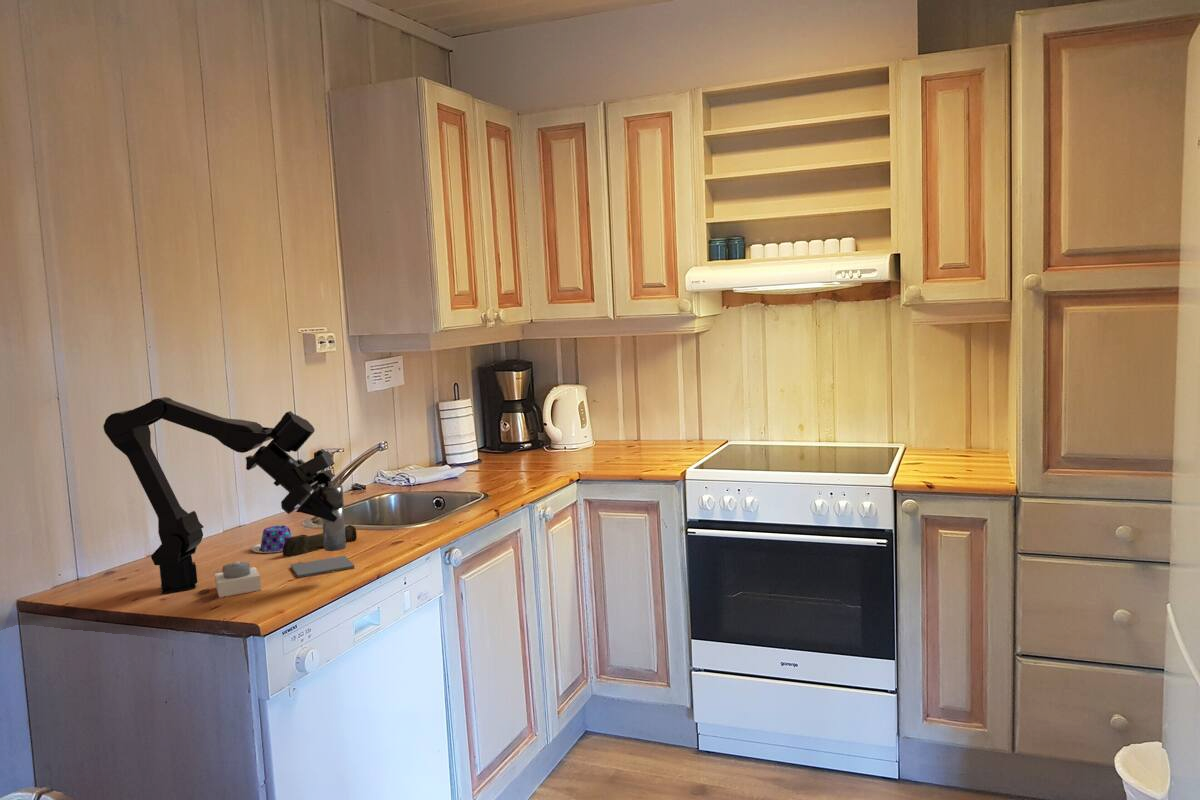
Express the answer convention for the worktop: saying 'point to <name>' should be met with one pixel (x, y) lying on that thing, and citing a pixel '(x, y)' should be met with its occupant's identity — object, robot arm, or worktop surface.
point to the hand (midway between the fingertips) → (339, 517)
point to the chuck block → (237, 579)
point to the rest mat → (321, 566)
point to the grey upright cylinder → (336, 529)
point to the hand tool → (311, 542)
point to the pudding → (273, 539)
